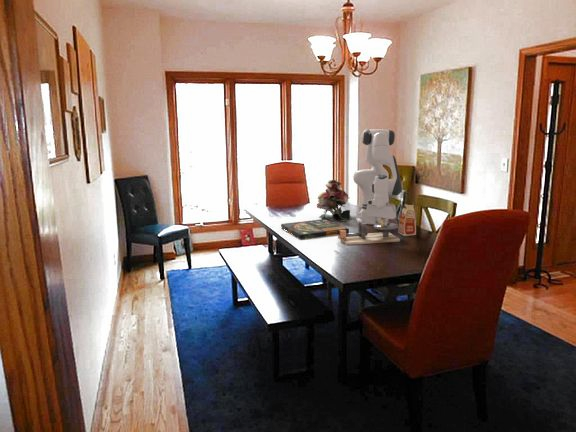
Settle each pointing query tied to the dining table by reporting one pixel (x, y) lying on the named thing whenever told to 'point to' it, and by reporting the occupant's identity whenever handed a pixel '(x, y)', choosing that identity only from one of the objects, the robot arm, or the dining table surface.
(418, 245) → the dining table surface
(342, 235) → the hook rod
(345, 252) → the dining table surface
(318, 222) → the pizza box
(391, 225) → the handwheel
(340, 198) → the rose bouquet
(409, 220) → the milk carton
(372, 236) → the base board
